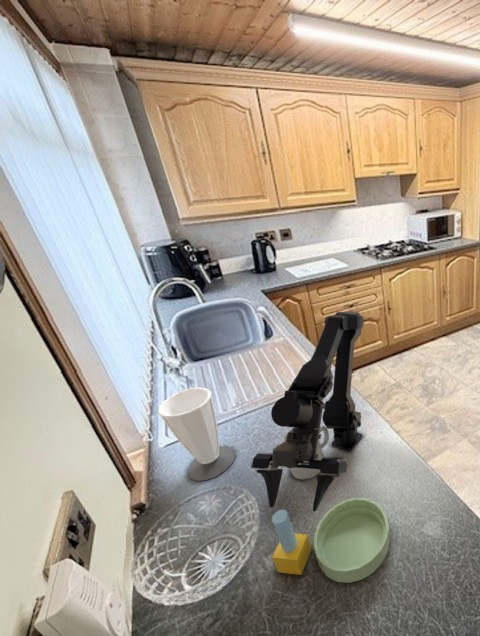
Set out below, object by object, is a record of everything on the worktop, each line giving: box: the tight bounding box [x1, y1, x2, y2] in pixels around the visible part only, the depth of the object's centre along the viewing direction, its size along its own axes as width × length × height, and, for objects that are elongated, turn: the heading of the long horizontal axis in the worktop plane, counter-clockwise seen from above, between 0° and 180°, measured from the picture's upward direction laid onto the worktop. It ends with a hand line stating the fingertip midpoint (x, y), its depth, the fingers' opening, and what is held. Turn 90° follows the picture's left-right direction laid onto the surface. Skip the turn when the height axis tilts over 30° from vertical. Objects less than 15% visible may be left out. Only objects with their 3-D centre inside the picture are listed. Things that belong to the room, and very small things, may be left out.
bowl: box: [313, 497, 391, 584], centre depth 73 cm, size 15×15×4 cm
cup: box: [157, 386, 236, 482], centre depth 90 cm, size 12×12×22 cm
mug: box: [282, 424, 330, 481], centre depth 92 cm, size 12×8×11 cm
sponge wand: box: [271, 509, 313, 576], centre depth 68 cm, size 5×5×14 cm
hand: (292, 509), depth 70 cm, fingers open, 9 cm apart
